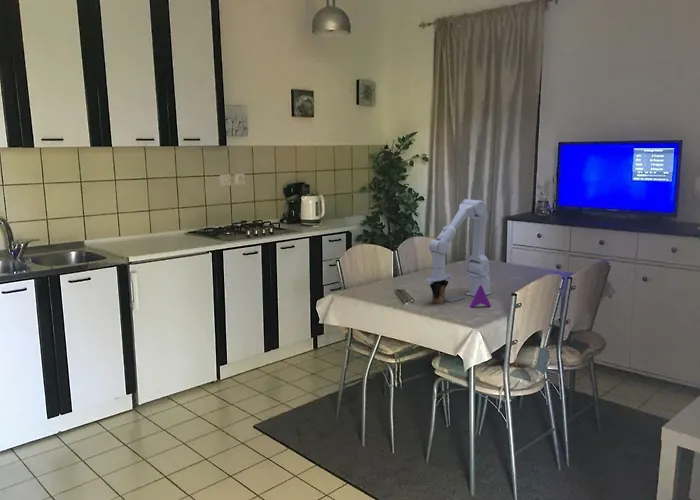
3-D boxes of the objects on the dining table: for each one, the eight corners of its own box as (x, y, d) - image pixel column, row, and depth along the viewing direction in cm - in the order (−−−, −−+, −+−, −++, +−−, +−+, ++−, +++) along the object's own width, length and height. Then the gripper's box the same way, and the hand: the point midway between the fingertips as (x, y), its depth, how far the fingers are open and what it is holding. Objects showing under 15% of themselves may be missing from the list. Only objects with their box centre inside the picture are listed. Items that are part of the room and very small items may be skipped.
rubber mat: (447, 294, 271) (447, 293, 271) (465, 298, 263) (465, 297, 263) (433, 298, 264) (433, 297, 264) (451, 302, 257) (451, 301, 257)
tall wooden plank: (435, 301, 260) (435, 283, 258) (444, 303, 256) (444, 285, 255) (432, 302, 258) (432, 284, 257) (441, 304, 255) (441, 286, 253)
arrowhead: (479, 316, 251) (496, 300, 250) (480, 317, 249) (497, 301, 248) (463, 301, 249) (480, 284, 248) (464, 302, 248) (481, 285, 247)
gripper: (442, 263, 262) (441, 292, 264) (420, 268, 252) (420, 299, 255) (454, 265, 257) (454, 295, 259) (433, 271, 247) (433, 302, 250)
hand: (438, 297), depth 257 cm, fingers closed
